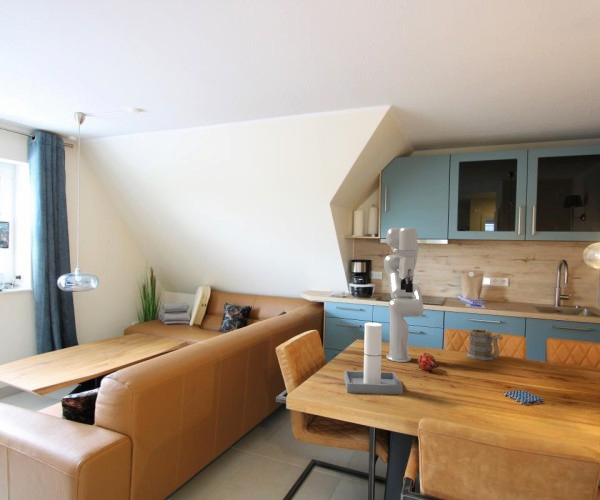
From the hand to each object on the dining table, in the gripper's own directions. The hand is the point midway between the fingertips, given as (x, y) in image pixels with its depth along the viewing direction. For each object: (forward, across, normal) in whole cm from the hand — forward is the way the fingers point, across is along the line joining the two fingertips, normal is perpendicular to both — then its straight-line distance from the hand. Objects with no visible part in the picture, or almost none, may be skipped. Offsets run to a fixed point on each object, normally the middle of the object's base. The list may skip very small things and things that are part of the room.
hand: (406, 291), depth 178 cm
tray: (+38, +18, -18) cm, 46 cm away
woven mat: (+39, +27, +40) cm, 62 cm away
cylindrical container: (+37, +18, -18) cm, 45 cm away
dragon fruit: (+38, -5, +12) cm, 41 cm away
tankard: (+39, -27, +49) cm, 68 cm away
